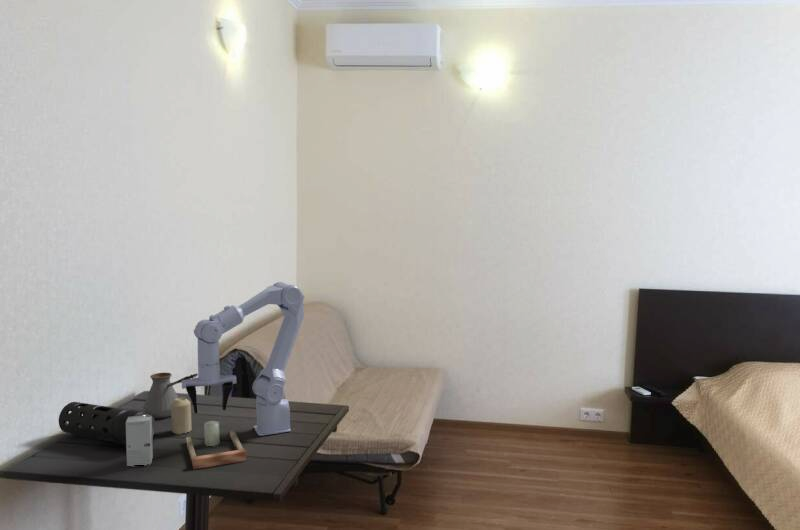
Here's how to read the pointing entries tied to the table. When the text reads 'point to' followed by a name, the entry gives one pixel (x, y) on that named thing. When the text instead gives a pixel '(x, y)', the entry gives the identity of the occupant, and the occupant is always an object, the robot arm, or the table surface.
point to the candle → (181, 415)
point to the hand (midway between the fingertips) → (210, 410)
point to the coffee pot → (162, 395)
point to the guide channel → (217, 455)
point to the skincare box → (139, 440)
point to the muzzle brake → (98, 421)
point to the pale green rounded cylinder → (212, 433)
